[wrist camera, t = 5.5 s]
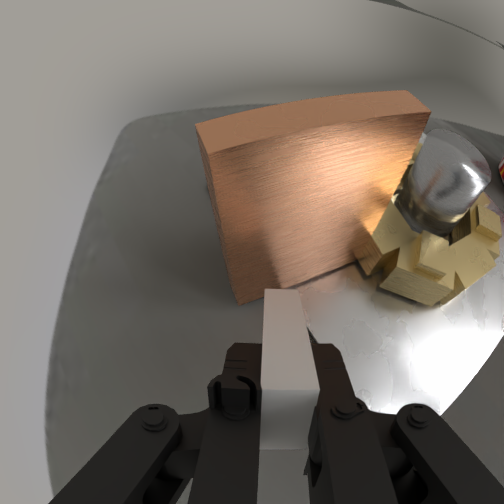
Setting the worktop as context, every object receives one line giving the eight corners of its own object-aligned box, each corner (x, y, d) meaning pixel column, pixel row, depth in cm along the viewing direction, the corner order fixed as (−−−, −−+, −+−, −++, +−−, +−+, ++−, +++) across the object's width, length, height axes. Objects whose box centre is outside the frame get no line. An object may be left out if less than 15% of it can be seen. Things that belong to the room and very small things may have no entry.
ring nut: (421, 154, 24) (462, 53, 14) (499, 262, 18) (583, 174, 8) (204, 215, 21) (167, 62, 11) (274, 393, 15) (305, 375, 5)
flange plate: (396, 114, 29) (414, 55, 22) (538, 267, 19) (587, 222, 11) (208, 187, 24) (190, 101, 16) (394, 455, 13) (475, 474, 6)
